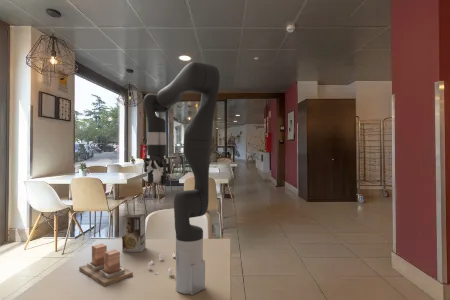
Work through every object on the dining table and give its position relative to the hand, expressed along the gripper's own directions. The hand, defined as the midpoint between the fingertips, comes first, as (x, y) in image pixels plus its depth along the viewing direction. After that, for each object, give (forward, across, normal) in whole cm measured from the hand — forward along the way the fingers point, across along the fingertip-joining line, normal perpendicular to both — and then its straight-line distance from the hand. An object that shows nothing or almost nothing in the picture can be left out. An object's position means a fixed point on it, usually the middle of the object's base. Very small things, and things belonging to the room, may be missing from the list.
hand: (156, 183), depth 117 cm
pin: (+32, +4, +17) cm, 36 cm away
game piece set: (+34, -5, -4) cm, 34 cm away
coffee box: (+33, +23, -4) cm, 41 cm away
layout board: (+33, +9, +17) cm, 38 cm away
